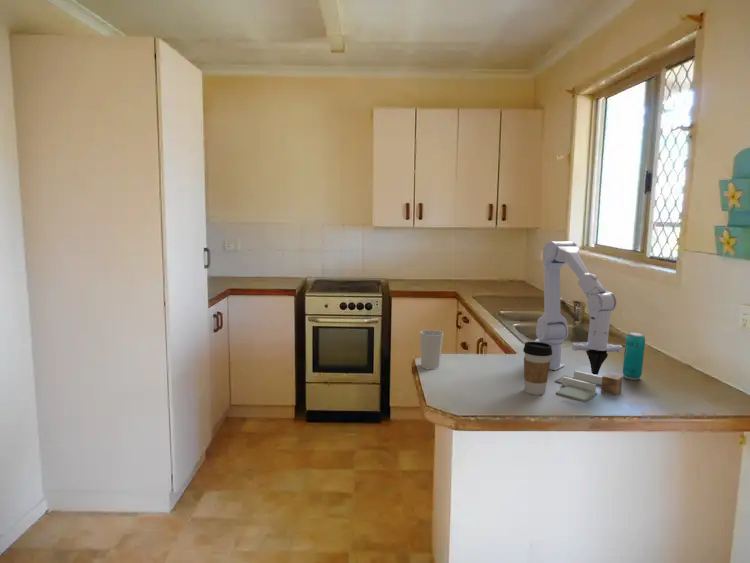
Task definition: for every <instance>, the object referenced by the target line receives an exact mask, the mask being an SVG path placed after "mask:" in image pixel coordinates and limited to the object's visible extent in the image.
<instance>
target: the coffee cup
mask: <svg viewBox="0 0 750 563" xmlns="http://www.w3.org/2000/svg"><path fill="white" fill-rule="evenodd" d="M522 352H523V354H524V357H523V367H524V368H523V372H524V392H525V393H527V394H530V395H533V396H534V395H535V396H541V395H544V394H546V387H547V383H548V382H547V381H548V378H549V371H550V369H549V367H550V356H551V355H552V347H551V345H549V344H546V343H541V342H534V341H526V342H524V347H523V350H522Z"/></svg>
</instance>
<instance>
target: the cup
mask: <svg viewBox="0 0 750 563" xmlns="http://www.w3.org/2000/svg"><path fill="white" fill-rule="evenodd" d="M419 336H420V338H419V339H420V358H421V359H420V363H421V368H422V367H423V368H422V369H425V368H428V369H427V370H436V369H435V368H438V367H439V366H440V363H441V356H442V347H443V339H444V332H443V331H441V330H436V329H423V330H420V332H419ZM440 367H441V366H440ZM440 367H439V368H440ZM439 368H438V369H439Z"/></svg>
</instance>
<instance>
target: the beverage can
mask: <svg viewBox="0 0 750 563" xmlns="http://www.w3.org/2000/svg"><path fill="white" fill-rule="evenodd" d="M626 334H627V335H626V337H625V343H624V344H625V345H624V355H623V365H622V376H624V377H623V378H624V379H627V380H633V381H636V380H637V381H638V380H639V379H641V377H642V375H643V365H644V355H645V347H646V346H645V345H646V337H645V336H646V334H644V333H642V332H638V331H629V332H627V333H626Z"/></svg>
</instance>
